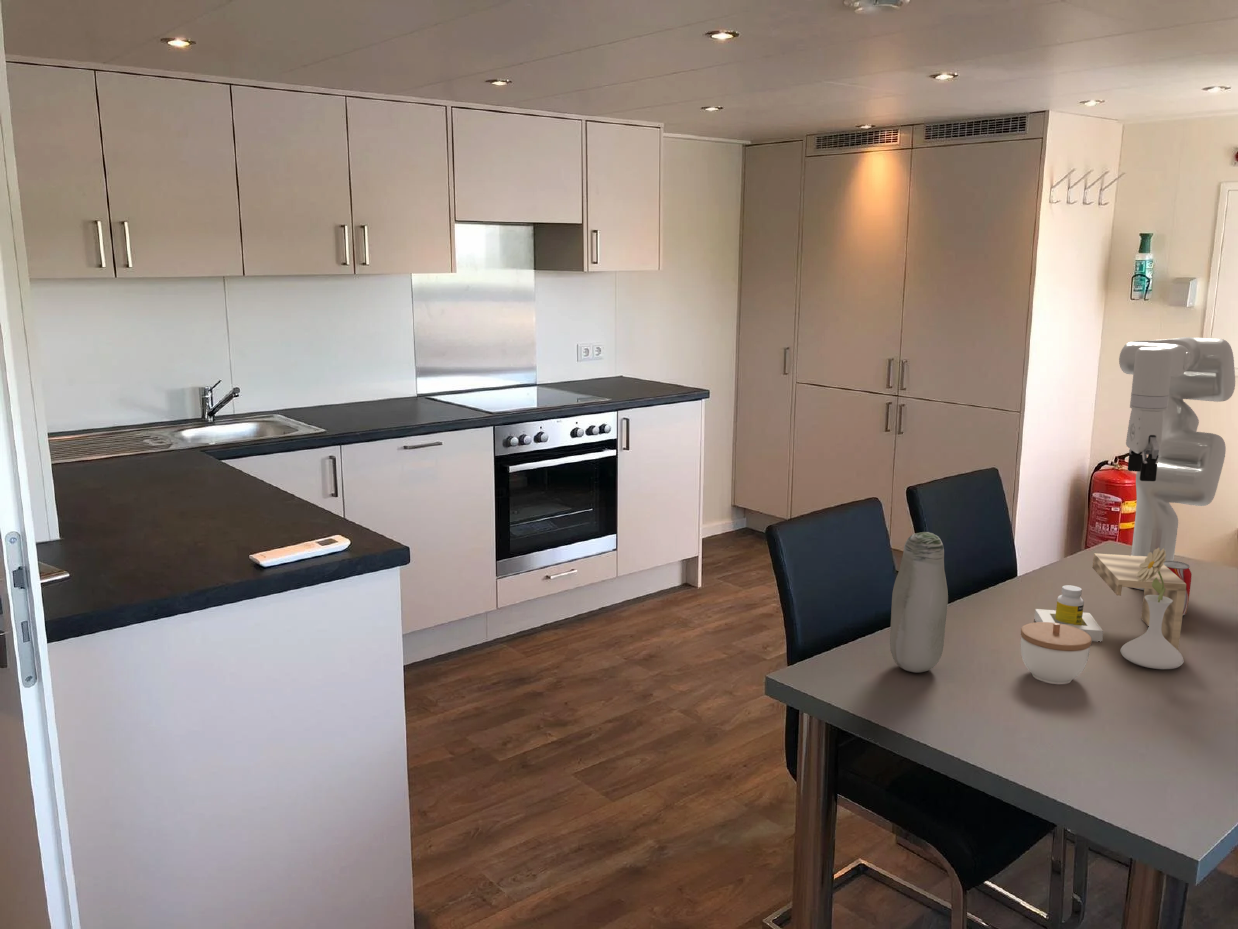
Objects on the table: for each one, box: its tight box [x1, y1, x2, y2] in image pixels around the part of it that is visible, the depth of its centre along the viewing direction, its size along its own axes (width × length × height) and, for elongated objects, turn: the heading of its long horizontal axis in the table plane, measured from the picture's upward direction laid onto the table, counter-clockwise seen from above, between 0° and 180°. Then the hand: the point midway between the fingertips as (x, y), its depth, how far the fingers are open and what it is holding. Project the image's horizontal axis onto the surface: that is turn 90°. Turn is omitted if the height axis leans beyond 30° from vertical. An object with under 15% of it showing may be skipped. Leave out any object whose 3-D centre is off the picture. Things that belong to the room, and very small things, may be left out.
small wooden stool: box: [1091, 553, 1186, 651], centre depth 216 cm, size 20×13×15 cm, turn 168°
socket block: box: [1034, 608, 1104, 643], centre depth 218 cm, size 12×12×2 cm
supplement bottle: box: [1055, 584, 1085, 625], centre depth 217 cm, size 5×5×10 cm
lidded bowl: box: [1020, 621, 1093, 685], centre depth 192 cm, size 13×13×11 cm
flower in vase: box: [1120, 548, 1185, 670], centre depth 197 cm, size 13×11×25 cm
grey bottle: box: [889, 531, 949, 673], centre depth 193 cm, size 10×10×28 cm
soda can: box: [1164, 560, 1192, 616], centre depth 228 cm, size 7×7×12 cm
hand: (1141, 475), depth 226 cm, fingers open, 9 cm apart
